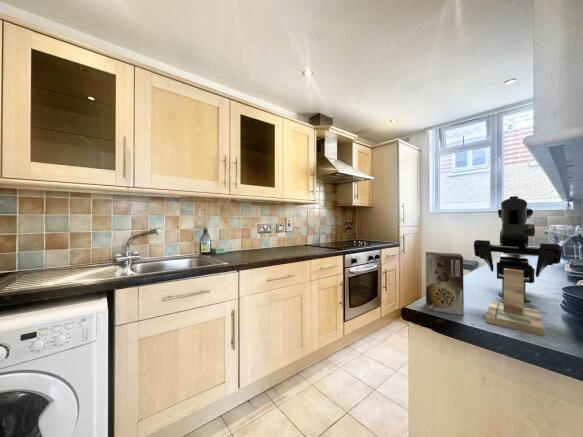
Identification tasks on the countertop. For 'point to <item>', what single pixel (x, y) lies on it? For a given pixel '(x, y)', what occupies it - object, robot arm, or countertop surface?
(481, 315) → the countertop surface
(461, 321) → the countertop surface
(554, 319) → the countertop surface
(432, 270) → the food box
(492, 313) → the maple board
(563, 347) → the countertop surface
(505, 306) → the wooden block
